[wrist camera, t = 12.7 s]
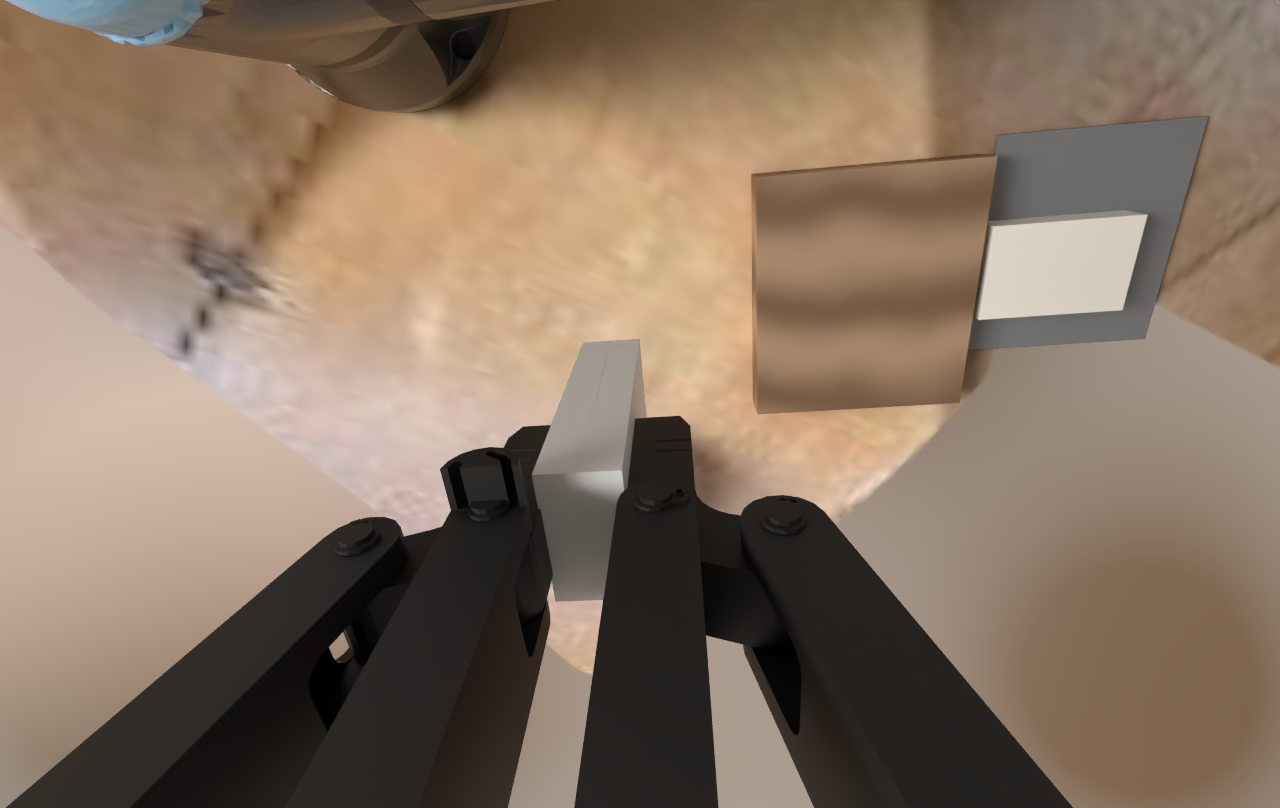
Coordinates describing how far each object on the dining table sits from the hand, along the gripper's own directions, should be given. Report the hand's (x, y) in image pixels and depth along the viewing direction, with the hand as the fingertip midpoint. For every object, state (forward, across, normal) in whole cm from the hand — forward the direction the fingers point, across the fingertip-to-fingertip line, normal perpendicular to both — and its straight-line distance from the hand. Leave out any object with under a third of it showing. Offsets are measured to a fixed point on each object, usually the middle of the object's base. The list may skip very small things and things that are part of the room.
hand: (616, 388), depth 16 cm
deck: (+26, +14, -5) cm, 30 cm away
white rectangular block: (+26, +26, -4) cm, 37 cm away
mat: (+26, +28, -3) cm, 39 cm away
